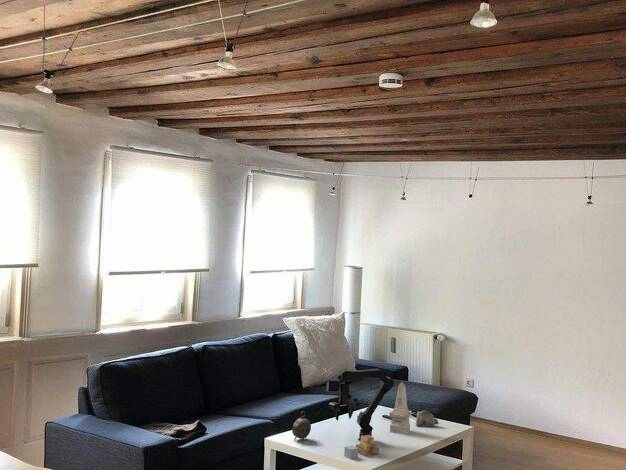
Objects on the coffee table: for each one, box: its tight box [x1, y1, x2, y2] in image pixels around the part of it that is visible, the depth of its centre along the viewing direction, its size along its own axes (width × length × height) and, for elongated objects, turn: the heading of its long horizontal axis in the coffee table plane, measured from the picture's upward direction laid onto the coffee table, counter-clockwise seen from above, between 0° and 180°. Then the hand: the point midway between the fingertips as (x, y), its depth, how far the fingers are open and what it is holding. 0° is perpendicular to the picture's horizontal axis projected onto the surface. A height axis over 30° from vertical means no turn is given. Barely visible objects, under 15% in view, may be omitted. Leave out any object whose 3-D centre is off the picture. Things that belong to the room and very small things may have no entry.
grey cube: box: [343, 445, 359, 460], centre depth 354 cm, size 5×5×5 cm
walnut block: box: [355, 443, 380, 457], centre depth 362 cm, size 9×9×4 cm
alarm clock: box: [291, 410, 312, 442], centre depth 380 cm, size 11×5×16 cm, turn 131°
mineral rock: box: [415, 409, 439, 427], centre depth 420 cm, size 13×11×10 cm
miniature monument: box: [389, 381, 412, 435], centre depth 406 cm, size 10×10×30 cm
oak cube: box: [359, 435, 375, 448], centre depth 363 cm, size 5×5×5 cm
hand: (343, 419), depth 382 cm, fingers open, 9 cm apart
